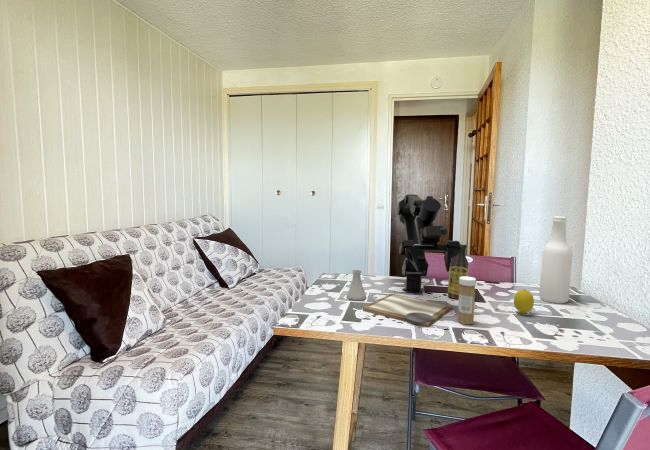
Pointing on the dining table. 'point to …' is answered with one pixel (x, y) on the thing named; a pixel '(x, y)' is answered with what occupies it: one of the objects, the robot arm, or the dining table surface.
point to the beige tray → (408, 309)
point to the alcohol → (556, 265)
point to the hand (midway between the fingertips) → (433, 271)
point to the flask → (356, 287)
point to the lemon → (523, 301)
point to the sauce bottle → (457, 271)
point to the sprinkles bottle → (466, 300)
